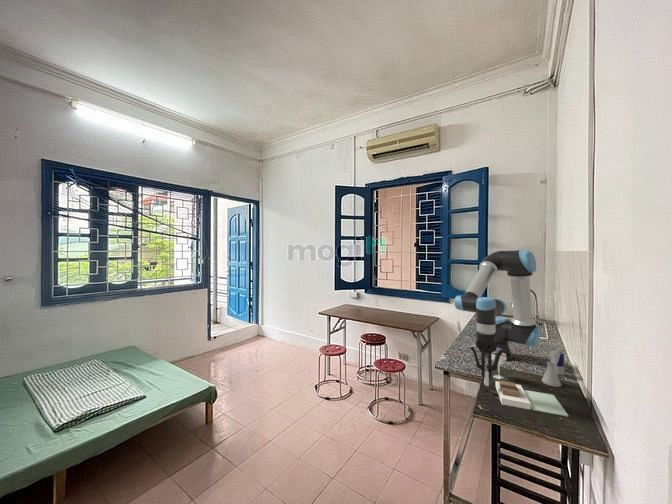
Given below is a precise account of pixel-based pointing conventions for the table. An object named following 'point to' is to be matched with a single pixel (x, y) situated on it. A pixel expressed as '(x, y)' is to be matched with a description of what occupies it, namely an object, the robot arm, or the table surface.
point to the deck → (514, 398)
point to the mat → (545, 403)
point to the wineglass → (499, 363)
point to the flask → (551, 376)
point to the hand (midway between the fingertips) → (486, 384)
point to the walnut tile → (509, 389)
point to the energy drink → (558, 362)
